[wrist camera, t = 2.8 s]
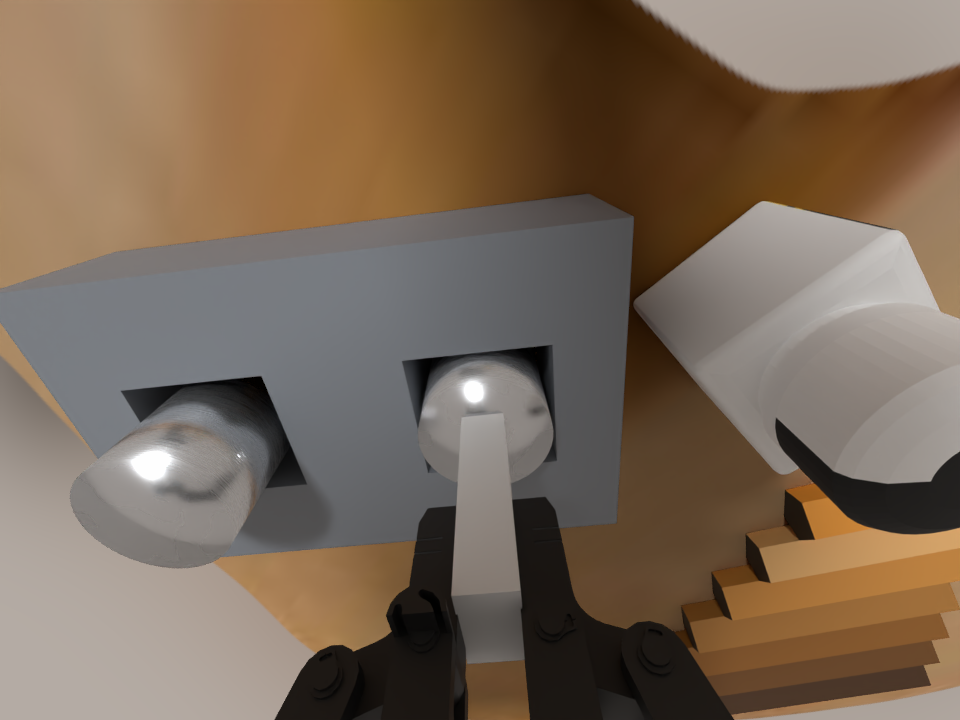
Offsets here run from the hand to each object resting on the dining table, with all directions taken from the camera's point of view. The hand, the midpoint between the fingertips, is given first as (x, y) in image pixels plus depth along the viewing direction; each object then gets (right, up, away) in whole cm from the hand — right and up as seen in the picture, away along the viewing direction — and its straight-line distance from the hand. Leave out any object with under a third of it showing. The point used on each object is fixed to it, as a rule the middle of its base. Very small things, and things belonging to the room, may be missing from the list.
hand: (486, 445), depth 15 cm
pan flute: (+21, -16, +18) cm, 32 cm away
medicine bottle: (+12, +6, +6) cm, 15 cm away
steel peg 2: (0, +3, +5) cm, 5 cm away
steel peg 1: (-11, 0, +3) cm, 11 cm away
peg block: (-6, +3, +7) cm, 9 cm away
